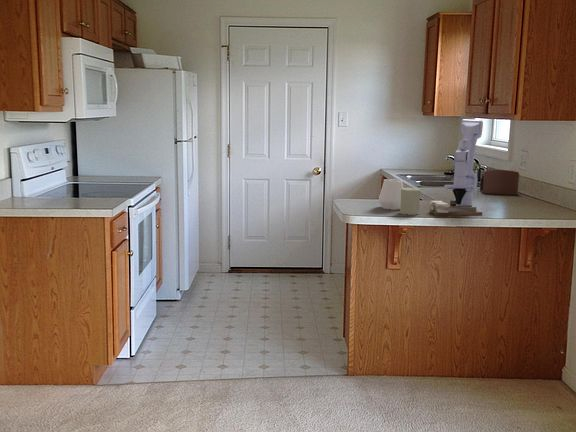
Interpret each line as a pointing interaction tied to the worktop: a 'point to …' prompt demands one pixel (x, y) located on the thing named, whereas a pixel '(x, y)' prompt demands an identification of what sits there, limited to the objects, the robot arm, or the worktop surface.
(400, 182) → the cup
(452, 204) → the bolt
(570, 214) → the worktop surface
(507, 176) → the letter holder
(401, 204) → the beige upright block
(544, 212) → the worktop surface
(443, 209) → the door board
